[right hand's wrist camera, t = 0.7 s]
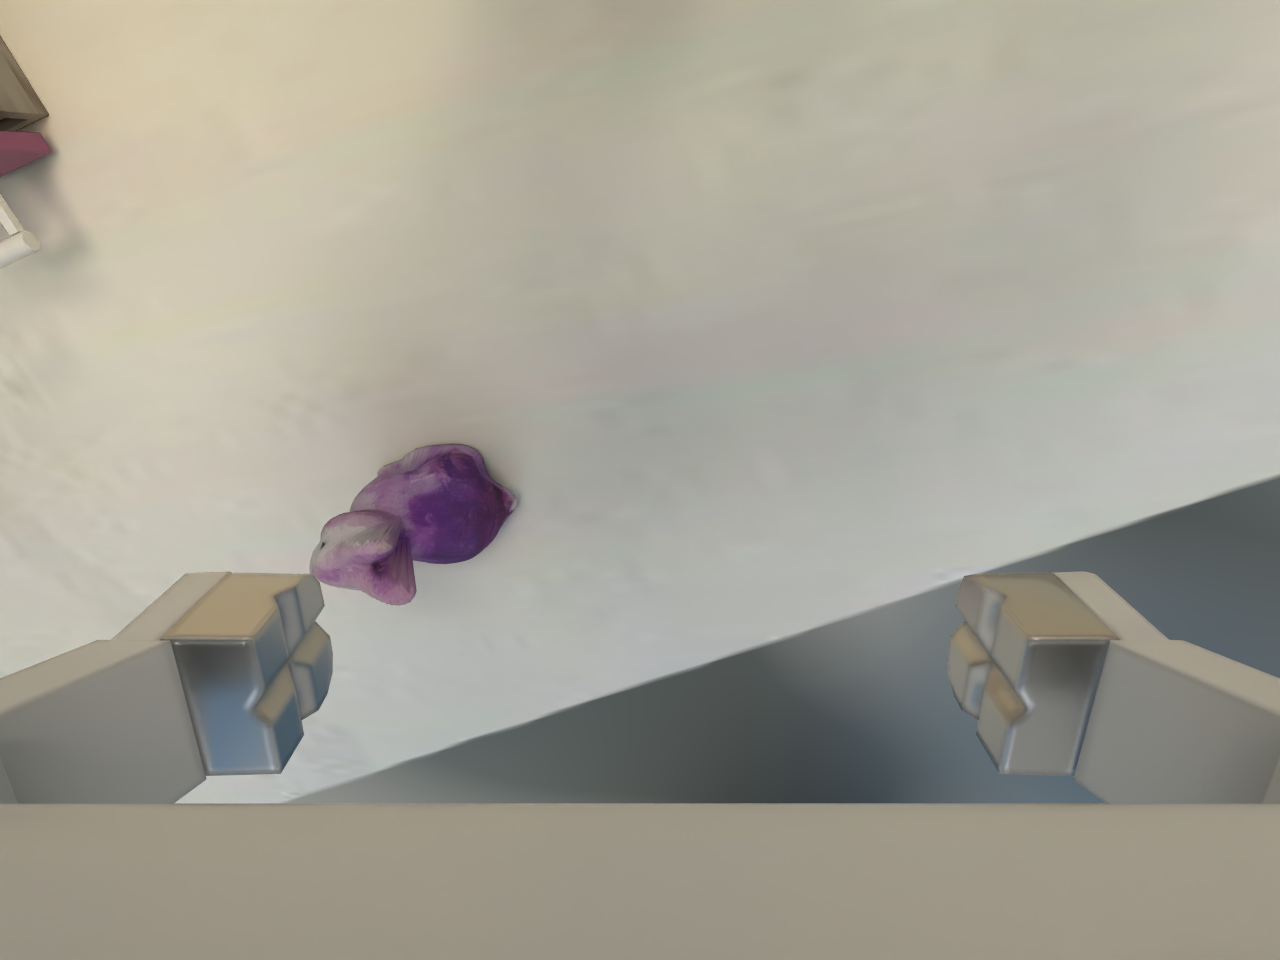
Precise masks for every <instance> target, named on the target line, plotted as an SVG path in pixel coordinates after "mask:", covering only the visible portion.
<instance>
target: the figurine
mask: <svg viewBox="0 0 1280 960" xmlns="http://www.w3.org/2000/svg"><path fill="white" fill-rule="evenodd" d="M517 503H518V500H517V497H516V495H515V494H514V493H513V492H512V491H511V490H508V489H506V488H504V487H502V486H501V485H499V484H498V483H496V482H495V481H493V480H492V479H491V478H490V477H489V475H488V474H487V472H486V469H485V467H484V463H483V458H482V456H481V454H480V453H479V452H478V451H476V450H475V449H473V448H471V447H468V446H466V445H460V444H459V445H457V444H449V445H435V446H427V447H423V448H418V449H415V450H414V451H412V452H410V453H408V454H407V455H405V456H404V458H403V460H399V461H398V462H394V463H391V464H388V465H386V466H384V467H382V468H381V469H380V470H379V472H378V476H377V478H375V479H374V480H373V481H372V482H370V483H369V484H368V485H367V486H365V487H364V488H363V489H362V490H361V491H360V493H359V494H358V495H357V496H356V497H355V499H354V501H353V503H352V506H351V509H350V512H348V513H343V514H340V515H338V516H336V517H334V518H332V519H331V520H329V521H328V522H327V523H326V524H325V525H324V527H323V530H322V532H321V540H320V543H319V544H318V545H317V547H316V548H315V550H314V551H313V554H312V557H311V561H310V574H313V576H314V577H315V578H316V579H318V580H319V581H321V582H323V583H325V584H327V585H330V586H334V587H339V588H345V589H351V590H361V591H363V592H365V593H367V594H368V595H370V596H371V597H373V598H375V599H377V600H379V601H381V602H384V603H386V604H390V605H403V604H406V603H409V602H411V600H412V599H413V598H414V596H415V594H416V584H415V577H414V569H413V562H412V560H415V561H421V562H427V563H434V564H450V563H457V562H462V561H466V560H469V559H471V558H473V557H475V556H476V555H477V554H479V553H480V552H481V551H482V550H484V549H485V548H486V547H487V546H488V545H489V544H490V543H491V542H492V541H493V539H494V538H495V536H496V535H497V533H498V531H499V529H500V527H501V526H502V524H503V523H504V521H505V520H506V519H507V518H508V516H509V515H510V514H511V513H512V512H513V511H514V510H515V508H516V505H517Z"/></svg>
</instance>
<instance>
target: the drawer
mask: <svg viewBox="0 0 1280 960" xmlns="http://www.w3.org/2000/svg"><path fill="white" fill-rule="evenodd" d="M2 119H4V118H0V120H2ZM50 152H52V151H51V149H50V148H49V146H48V145H47V143H46V141H45V140H44V138H43V137H42V135H41V134H40V133H31V132H12V131H0V177H1V176H3V175H5V174H7V173H9V172H11V171H13V170H15V169H17V168H19V167H22V166H24V165H26V164H28V163H30V162H32V161H34V160H36V159H38V158H40V157H42V156H44V155H46V154H48V153H50ZM0 222H1V223H2V225H3V226H4V228H5V229H6V231H7V232H8V234H9V235H10V236H11V237H9V238H7V239H5V240H3V241H0V268H2V267H5V266H7V265H9V264H11V263H13V262H15V261H17V260H20V259H22V258H24V257H26V256H28V255H30V254H32V253H35V252H37V251H39V250H40V247H41V246H40V242H39V240H38V239H37V238H36V237H35V236H34V235H33V234H32V233H30V232H28V231H24V229H23V228H22V226H21V225H20V223H19V222H18V220H17V218H16V217H15V215H14V214H13V212H12V211H11V209H10V208H9V206H8V205H7V203H6V202H5V200H4V199H3V197H2V196H1V194H0ZM12 235H13V236H12Z"/></svg>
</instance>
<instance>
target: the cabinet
mask: <svg viewBox="0 0 1280 960" xmlns="http://www.w3.org/2000/svg"><path fill="white" fill-rule="evenodd" d="M46 116H48V113H47V111H46V109H45V108H44V106H43V105H42V103H41V101H40V100H39V98H38V96H37V95H36V93H35V92H34V90H33V88H32V87H31V85H30V84H29V82H28V80H27V79H26V77H25V75H24V74H23V72H22V71H21V69H20V67H19V66H18V64H17V62H16V61H15V59H14V58H13V56H12V54H11V53H10V51H9V50H8V48H7V46H6V45H5V43H4V41H3V40H2V38H1V37H0V118H4V119H2V120H0V131H12V132H15V131H17V130H19V129H21V128H23V127H25V126H27V125H29V124H31V123H33V122H35V121H37V120H39V119H42V118H44V117H46Z"/></svg>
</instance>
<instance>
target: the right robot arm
mask: <svg viewBox="0 0 1280 960" xmlns="http://www.w3.org/2000/svg"><path fill="white" fill-rule="evenodd" d="M324 606H325V605H324V601H323V596H322V591H321V586H320V582H319V581H318V580H317V579H316V578H315V577H314V576H313V574H279V573H231V572H205V573H188V574H185V575H184V576H182V577H181V578H180V579H179V580H178V581H177V582H176V583H175V584H173V585H172V586H171V587H170V588H169V589H168V590H167V591H166V592H164V593H163V594H162V595H161V596H160V597H159V598H158V599H157V600H155V601H154V602H153V603H152V604H151V605H150V606H149V607H148V608H146V609H145V610H144V611H143V612H142V613H141V614H140V615H139V616H137V617H136V618H135V619H134V620H133V621H132V622H131V623H130V624H128V625H127V626H126V627H125V628H124V629H123V630H122V631H121V632H119V633H118V634H117V635H116V636H115V637H114V638H113V639H112V640H97V641H94V642H92V643H89V644H87V645H84V646H82V647H79V648H77V649H74V650H72V651H69V652H66V653H64V654H61V655H59V656H56V657H54V658H51V659H49V660H46V661H44V662H41V663H39V664H36V665H34V666H31V667H29V668H26V669H23V670H21V671H18V672H16V673H13V674H11V675H8V676H6V677H3V678H1V679H0V960H1280V679H1279V678H1277V677H1274V676H1271V675H1269V674H1266V673H1264V672H1261V671H1259V670H1256V669H1254V668H1251V667H1249V666H1246V665H1244V664H1241V663H1239V662H1236V661H1234V660H1231V659H1228V658H1226V657H1223V656H1221V655H1218V654H1216V653H1213V652H1211V651H1208V650H1206V649H1203V648H1201V647H1198V646H1196V645H1193V644H1191V643H1188V642H1186V641H1183V640H1168V639H1167V638H1166V637H1165V636H1164V635H1163V634H1162V633H1161V632H1160V631H1158V630H1157V629H1156V628H1155V627H1154V626H1153V625H1152V624H1151V623H1149V622H1148V621H1147V620H1146V619H1145V618H1144V617H1143V616H1142V615H1140V614H1139V613H1138V612H1137V611H1136V610H1135V609H1134V608H1133V607H1131V606H1130V605H1129V604H1128V603H1127V602H1126V601H1125V600H1124V599H1122V598H1121V597H1120V596H1119V595H1118V594H1117V593H1116V592H1115V591H1114V590H1112V589H1111V588H1110V587H1109V586H1108V585H1107V584H1106V583H1104V582H1103V581H1102V580H1101V579H1100V578H1099V577H1098V576H1097V575H1095V574H1092V573H1088V572H1065V573H1051V572H1049V573H1007V574H973V575H968V576H964V578H963V580H962V582H961V584H960V586H959V589H958V594H957V600H956V605H955V606H956V608H957V609H958V611H959V612H960V614H961V615H962V617H963V619H964V620H965V622H964V623H963V624H962V625H961V626H960V627H959V628H958V629H957V630H956V631H955V632H954V633H953V634H952V635H951V636H950V641H949V648H948V656H947V665H948V676H949V683H950V686H951V689H952V692H953V695H954V697H955V699H956V701H957V703H958V705H959V706H960V708H961V710H962V711H964V712H966V713H967V714H969V715H971V716H972V717H974V718H975V719H977V720H979V721H978V727H977V732H976V735H977V737H978V739H979V740H980V742H981V744H982V745H983V747H984V749H985V750H986V752H987V754H988V755H989V757H990V759H991V760H992V762H993V764H994V765H995V767H996V769H997V770H998V772H999V774H1025V775H1063V776H1074V780H1076V781H1077V782H1078V783H1080V784H1081V785H1082V786H1084V787H1085V788H1086V789H1088V790H1089V791H1090V792H1092V793H1093V794H1095V795H1096V796H1097V797H1099V798H1100V799H1101V800H1103V801H1104V802H1105V803H1107V804H173V803H175V802H176V801H178V800H179V799H180V798H182V797H183V796H184V795H186V794H187V793H188V792H190V791H191V790H193V789H194V788H195V787H197V786H198V785H199V784H201V783H202V782H203V781H205V780H206V776H217V775H253V774H281V772H282V771H283V769H284V767H285V766H286V764H287V762H288V761H289V759H290V757H291V756H292V754H293V752H294V750H295V749H296V747H297V745H298V744H299V742H300V740H301V739H302V737H303V735H304V732H303V727H302V721H301V720H303V719H305V718H306V717H308V716H309V715H311V714H313V713H314V712H316V711H318V710H319V708H320V706H321V704H322V703H323V701H324V699H325V697H326V695H327V693H328V689H329V685H330V680H331V676H332V666H333V653H332V646H331V640H330V636H329V635H328V634H327V633H326V632H325V631H324V630H323V629H322V628H321V627H320V626H319V625H318V624H317V623H316V621H315V620H316V619H317V617H318V615H319V614H320V612H321V611H322V609H323V608H324Z"/></svg>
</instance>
